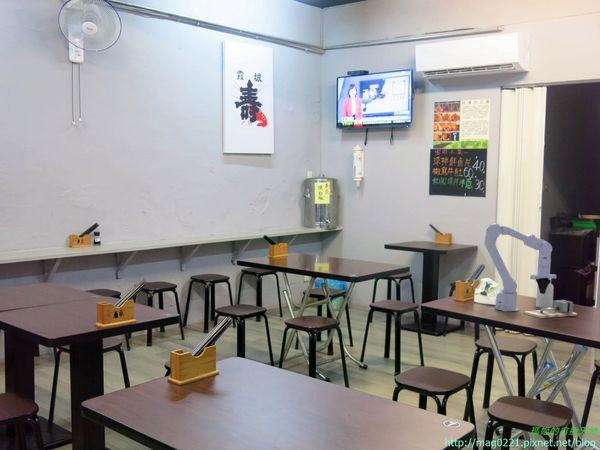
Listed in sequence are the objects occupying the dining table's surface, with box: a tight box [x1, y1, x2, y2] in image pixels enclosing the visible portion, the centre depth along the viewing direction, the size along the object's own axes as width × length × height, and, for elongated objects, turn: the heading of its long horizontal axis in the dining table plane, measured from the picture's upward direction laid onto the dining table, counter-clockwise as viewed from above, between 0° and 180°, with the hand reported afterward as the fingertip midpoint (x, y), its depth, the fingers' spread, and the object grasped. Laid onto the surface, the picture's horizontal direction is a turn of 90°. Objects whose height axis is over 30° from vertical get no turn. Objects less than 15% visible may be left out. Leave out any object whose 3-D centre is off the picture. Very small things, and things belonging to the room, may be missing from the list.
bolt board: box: [523, 299, 578, 319], centre depth 300 cm, size 23×11×6 cm, turn 112°
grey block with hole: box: [552, 299, 568, 313], centre depth 302 cm, size 3×6×5 cm, turn 22°
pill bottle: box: [535, 279, 554, 309], centre depth 317 cm, size 8×8×15 cm
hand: (542, 293), depth 305 cm, fingers closed
